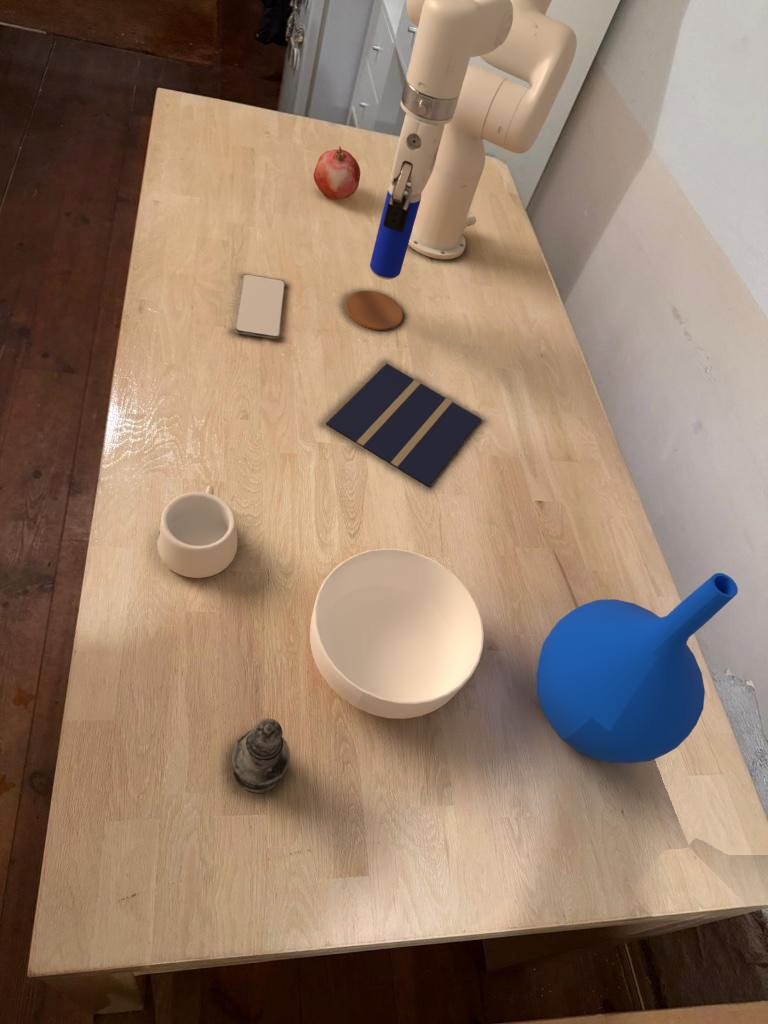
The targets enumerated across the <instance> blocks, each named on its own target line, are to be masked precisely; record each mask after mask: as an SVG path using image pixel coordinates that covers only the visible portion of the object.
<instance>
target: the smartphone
mask: <svg viewBox="0 0 768 1024" xmlns="http://www.w3.org/2000/svg"><path fill="white" fill-rule="evenodd" d="M285 284H286V282H285V281H284V280H282V279H278V278H272V277H267V276H261V275H255V274H249V273H245V274H243V277H242V283H241V289H240V296H239V303H238V309H237V316H236V322H235V327H234V331H235V332H236V333H237V334H242V335H248V336H254V337H261V338H267V339H272V340H277V339H280V332H281V322H282V314H283V313H282V312H283V303H284V296H285V295H284V294H285Z"/></svg>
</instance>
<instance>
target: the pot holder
mask: <svg viewBox="0 0 768 1024" xmlns="http://www.w3.org/2000/svg"><path fill="white" fill-rule="evenodd" d="M481 421H482V418H481V417H479V416H477V415H476V414H474V413H472V412H471V411H469V410H467V409H465V408H464V407H462V406H460V405H458V404H457V403H455V402H453V401H452V400H450V399H449V398H446V397H445V396H444V395H441V394H440V393H438V392H436V391H435V390H433V389H431V388H429V387H428V386H426V385H424V384H423V383H422V382H420V381H418V380H417V379H414V378H412V377H411V376H409V375H408V374H406V373H404V372H402V371H401V370H399V369H398V368H396V367H394V366H392V365H391V364H389V363H385V365H384V366H383V367H381V368H380V369H379V371H377V372H376V373H375V374H374V375H373V376H372V377H371V378H370V379H369V380H368V381H367V382H366V383H365V384H364V385H363V386H362V387H361V388H360V389H359V390H358V391H357V392H356V393H355V394H354V395H353V396H352V397H351V398H350V399H349V400H348V401H347V402H346V403H345V404H344V405H343V406H342V407H341V408H340V409H339V410H338V411H337V412H336V413H335V414H334V415H333V416H332V417H331V418H330V419H329V420H328V421H327V422H326V423H325V425H326V426H328V427H329V428H331V429H332V430H334V431H336V432H338V433H339V434H341V435H343V436H344V437H346V438H348V439H349V440H351V441H352V442H354V443H355V444H357V445H359V446H360V447H362V448H363V449H365V450H367V451H368V452H370V453H372V454H374V455H375V456H377V457H379V458H380V459H382V460H383V461H385V462H387V463H388V464H390V465H392V466H393V467H395V468H397V469H398V470H400V471H401V472H403V473H404V474H406V475H408V476H410V477H411V478H413V480H416V481H418V482H419V483H421V484H422V485H424V486H426V487H428V488H429V487H430V486H431V484H432V483H433V482H434V480H435V479H436V478H437V477H438V475H439V474H440V473H441V472H442V470H443V469H444V468H445V467H446V465H447V464H448V462H449V461H450V460H451V459H452V458H453V456H455V454H456V453H457V451H458V450H459V449H460V447H461V446H462V445H463V444H464V442H465V441H466V440H467V438H468V437H469V436H470V435H471V433H472V432H473V431H474V430H475V428H477V426H478V424H479V423H480V422H481Z"/></svg>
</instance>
